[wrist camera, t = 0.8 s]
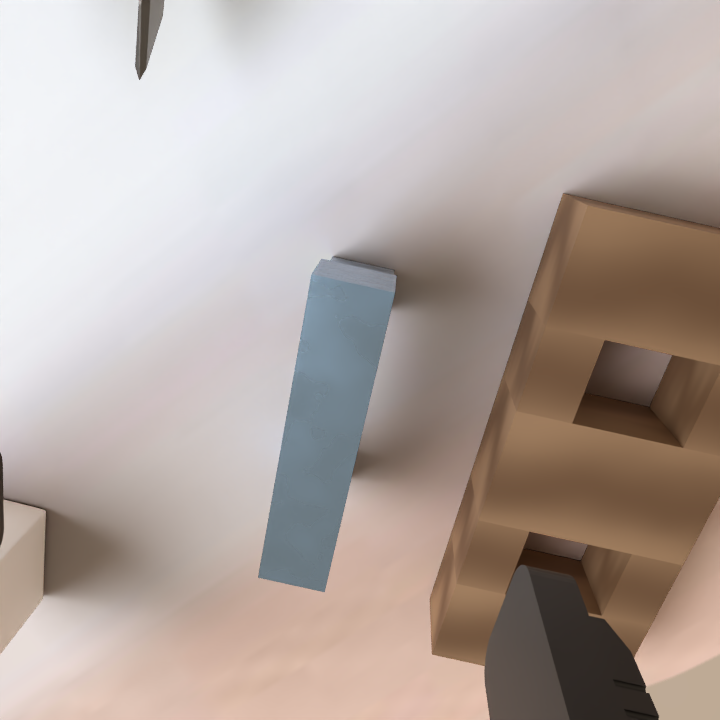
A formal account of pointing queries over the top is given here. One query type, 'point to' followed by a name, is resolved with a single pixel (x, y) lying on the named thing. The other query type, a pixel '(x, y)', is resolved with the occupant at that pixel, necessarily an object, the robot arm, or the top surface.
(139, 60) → the knife set
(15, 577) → the milk carton
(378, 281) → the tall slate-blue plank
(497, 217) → the top surface
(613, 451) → the socket block
